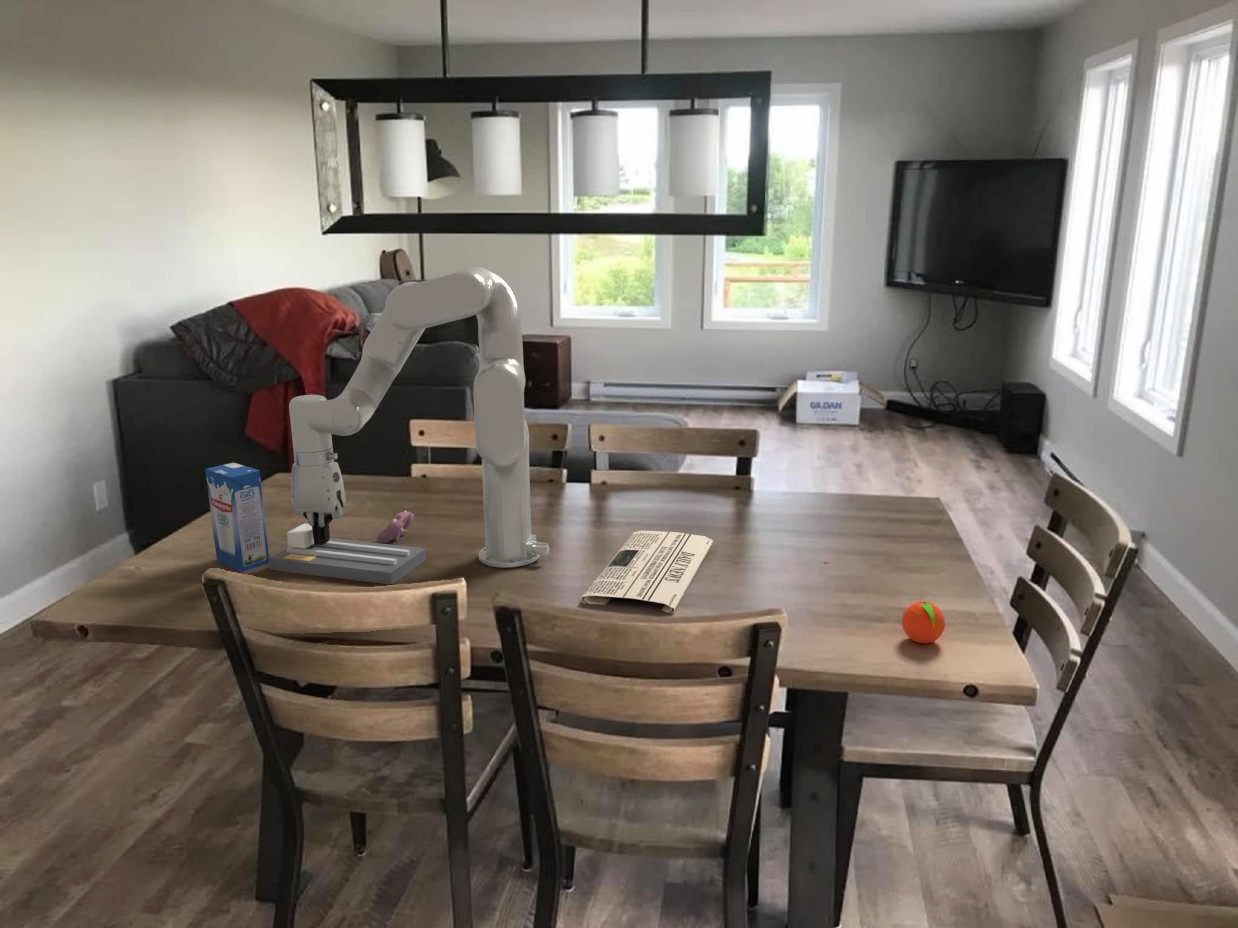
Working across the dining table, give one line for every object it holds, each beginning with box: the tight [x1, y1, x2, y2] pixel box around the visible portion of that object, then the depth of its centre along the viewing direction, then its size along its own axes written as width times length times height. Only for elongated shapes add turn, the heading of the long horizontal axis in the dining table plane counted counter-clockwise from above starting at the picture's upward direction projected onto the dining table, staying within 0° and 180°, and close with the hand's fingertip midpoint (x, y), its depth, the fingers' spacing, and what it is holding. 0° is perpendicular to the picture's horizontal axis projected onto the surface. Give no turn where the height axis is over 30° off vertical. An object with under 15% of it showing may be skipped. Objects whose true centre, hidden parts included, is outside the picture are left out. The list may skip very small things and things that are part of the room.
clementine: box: [901, 601, 946, 644], centre depth 165 cm, size 8×7×7 cm
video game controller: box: [376, 509, 416, 544], centre depth 218 cm, size 10×5×7 cm, turn 169°
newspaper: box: [580, 530, 714, 615], centre depth 197 cm, size 37×19×3 cm, turn 164°
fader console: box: [268, 537, 427, 585], centre depth 203 cm, size 28×14×3 cm, turn 72°
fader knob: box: [286, 522, 314, 548], centre depth 205 cm, size 4×6×4 cm, turn 162°
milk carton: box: [204, 462, 270, 573], centre depth 202 cm, size 10×6×20 cm, turn 50°
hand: (321, 542), depth 204 cm, fingers closed
